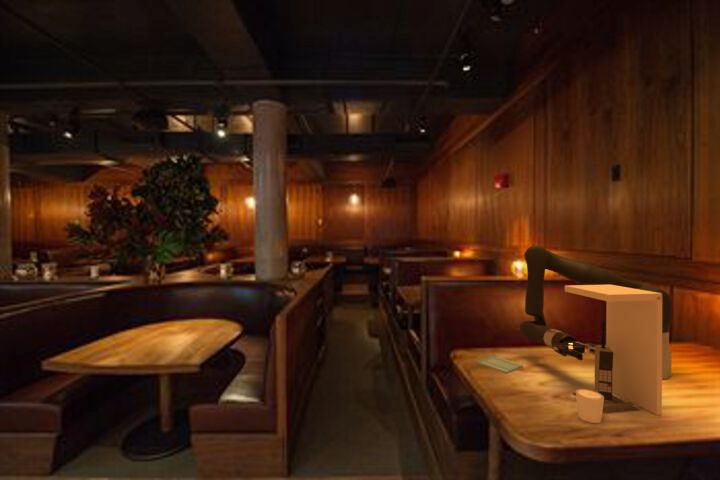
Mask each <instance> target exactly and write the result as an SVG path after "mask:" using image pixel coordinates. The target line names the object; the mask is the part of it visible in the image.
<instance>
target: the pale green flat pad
mask: <svg viewBox="0 0 720 480" xmlns="http://www.w3.org/2000/svg"><path fill="white" fill-rule="evenodd" d="M476 363H477V364H479V365H482V366H484V367H487V368H489V369H492V370H494V371H497V372H501V373H503V374H506V375H507V374H509V373H512V372H514V371H517V370H519V369H521V368H523V364H522V363H518V362H515V361H512V360H509V359H506V358H504V357H500V356H497V355H492V356H488V357H485V358H483V359H479V360H476Z"/></svg>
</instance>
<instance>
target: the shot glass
mask: <svg viewBox="0 0 720 480" xmlns="http://www.w3.org/2000/svg"><path fill="white" fill-rule="evenodd" d="M575 393H576V395H575V397H576V407H577V409H576V410H577V415H578V418H580V419H581V420H583V421H585V422H588V423H592V424H593V423H594V424H599V423H601V422H602V418H603V413H602V411H603V403H604V396H603V395H601V394H600V393H598V392H595V390H592V389H587V388H580V389H576V390H575Z"/></svg>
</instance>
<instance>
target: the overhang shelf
mask: <svg viewBox="0 0 720 480" xmlns="http://www.w3.org/2000/svg"><path fill="white" fill-rule="evenodd" d="M564 292H565V293H570V294H574V295H580V296H583V297H588V298H592V299H594V300H595V299H596V300H601V301H605V303H606V305H605V307H606V311H605V312H606V316H605V319H606V322H605V323H606V325H605V328H606V331H605V332H606V335H605V347H609V348H610V349H611V350H612V351H613V369H612V393H615V394H617V395H619V396H620V397H622V396H623V397H622V398H624V399H625V400H627V401H624V400H622V398H619V397H618V396H616V395H614V394H612V395H613V403H607V404H603V411H602V414H605V413H621V412H623V413H624V412H637V411H640V409H639V408H638V407H636V406H635V405H637V406H639V407H642V409H645V410H647V411H648V412H650V413H652V414H654V415H655V416H662V415H663V379H662V293H657V292H651V291H645V290H639V289H633V288H628V287H622V286H616V285H580V284H578V285H577V284H576V285H564ZM572 394H573V395H574V396H576V392H573V393H572ZM629 401H630V402H629Z"/></svg>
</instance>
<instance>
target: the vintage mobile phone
mask: <svg viewBox="0 0 720 480" xmlns="http://www.w3.org/2000/svg"><path fill="white" fill-rule="evenodd" d="M612 369H613V351H612V350H611V349H610V348H609V347H606V335H605V322H604V321H603V322H602V323H601V346H600V345H596V346H595V355H594V391H595V392H598V393H600V394H601V395H603V396H604V403H603V404H607V403H613V395H614V394H613V391H612Z"/></svg>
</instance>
